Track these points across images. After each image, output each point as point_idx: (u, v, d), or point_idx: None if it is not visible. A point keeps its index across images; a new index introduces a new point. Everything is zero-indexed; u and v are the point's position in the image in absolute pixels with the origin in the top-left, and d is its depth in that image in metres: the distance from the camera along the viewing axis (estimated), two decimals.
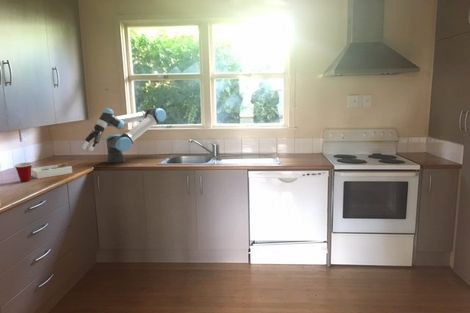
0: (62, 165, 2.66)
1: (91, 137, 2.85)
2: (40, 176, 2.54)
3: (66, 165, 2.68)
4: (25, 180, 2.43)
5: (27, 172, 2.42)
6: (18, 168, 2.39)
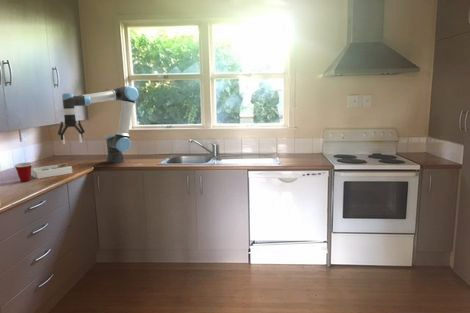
0: (62, 165, 2.66)
1: (76, 128, 2.72)
2: (40, 176, 2.54)
3: (66, 165, 2.68)
4: (25, 180, 2.43)
5: (27, 172, 2.42)
6: (18, 168, 2.39)
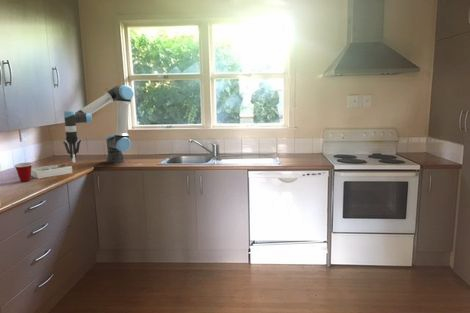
0: (62, 165, 2.66)
1: (73, 146, 2.72)
2: (40, 176, 2.54)
3: (66, 165, 2.68)
4: (25, 180, 2.43)
5: (27, 172, 2.42)
6: (18, 168, 2.39)
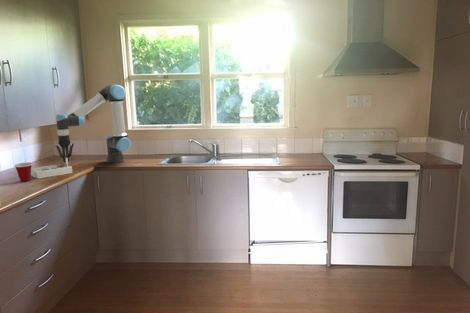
0: (61, 165, 2.65)
1: (66, 150, 2.69)
2: (40, 176, 2.54)
3: (65, 165, 2.67)
4: (25, 180, 2.43)
5: (27, 172, 2.42)
6: (18, 168, 2.39)
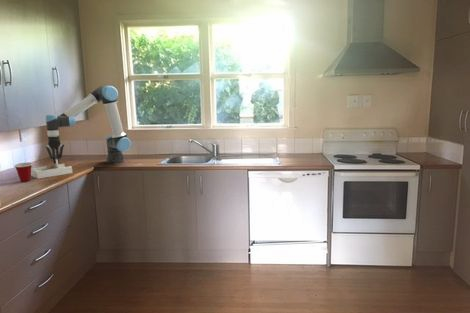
0: (51, 167, 2.60)
1: (56, 151, 2.64)
2: (40, 176, 2.54)
3: (55, 167, 2.62)
4: (25, 180, 2.43)
5: (27, 172, 2.42)
6: (18, 168, 2.39)
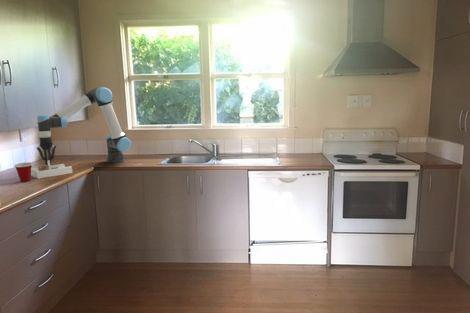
0: (43, 168, 2.57)
1: (48, 152, 2.60)
2: (40, 176, 2.54)
3: (47, 168, 2.59)
4: (25, 180, 2.43)
5: (27, 172, 2.42)
6: (18, 168, 2.39)
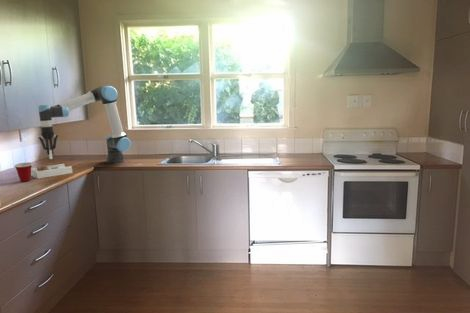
0: (41, 168, 2.56)
1: (49, 142, 2.60)
2: (40, 176, 2.54)
3: (45, 168, 2.58)
4: (25, 180, 2.43)
5: (27, 172, 2.42)
6: (18, 168, 2.39)
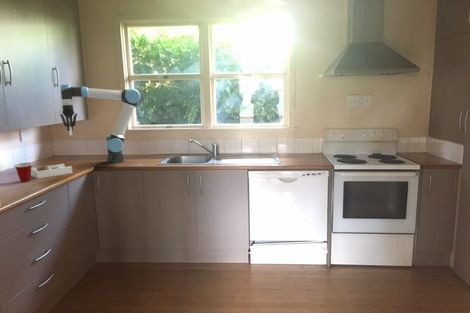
0: (41, 168, 2.56)
1: (70, 119, 2.81)
2: (40, 176, 2.54)
3: (45, 168, 2.58)
4: (25, 180, 2.43)
5: (27, 172, 2.42)
6: (18, 168, 2.39)
